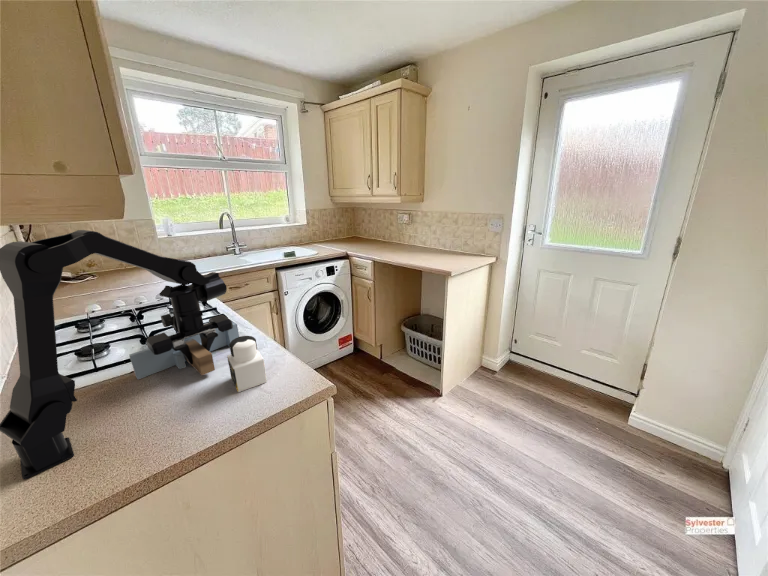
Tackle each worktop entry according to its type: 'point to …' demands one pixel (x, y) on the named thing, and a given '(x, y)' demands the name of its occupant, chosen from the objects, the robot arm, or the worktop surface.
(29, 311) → the robot arm
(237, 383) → the medicine bottle
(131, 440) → the worktop surface
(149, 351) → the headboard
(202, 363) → the brown wooden block
